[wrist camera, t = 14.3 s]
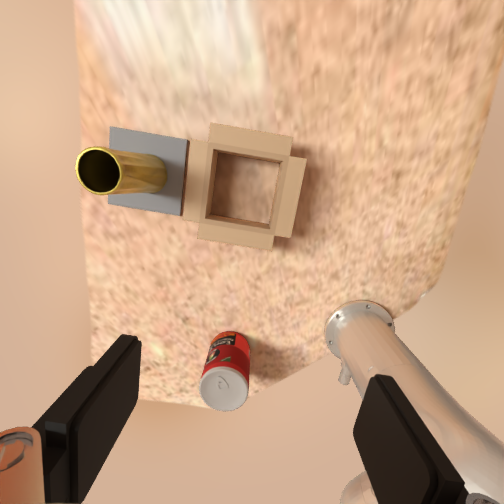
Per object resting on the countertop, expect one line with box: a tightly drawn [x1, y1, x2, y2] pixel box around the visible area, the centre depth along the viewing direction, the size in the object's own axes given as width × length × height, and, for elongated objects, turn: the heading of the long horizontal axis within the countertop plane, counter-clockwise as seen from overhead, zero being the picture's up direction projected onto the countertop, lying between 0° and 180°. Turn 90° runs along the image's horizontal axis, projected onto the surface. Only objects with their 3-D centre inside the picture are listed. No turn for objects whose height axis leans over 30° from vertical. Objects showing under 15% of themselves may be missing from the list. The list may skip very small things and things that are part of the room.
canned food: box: [199, 331, 250, 411], centre depth 47 cm, size 8×8×11 cm
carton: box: [183, 123, 307, 251], centre depth 42 cm, size 17×17×5 cm
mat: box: [108, 126, 188, 216], centre depth 43 cm, size 12×12×1 cm
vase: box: [76, 146, 167, 195], centre depth 36 cm, size 6×6×14 cm
